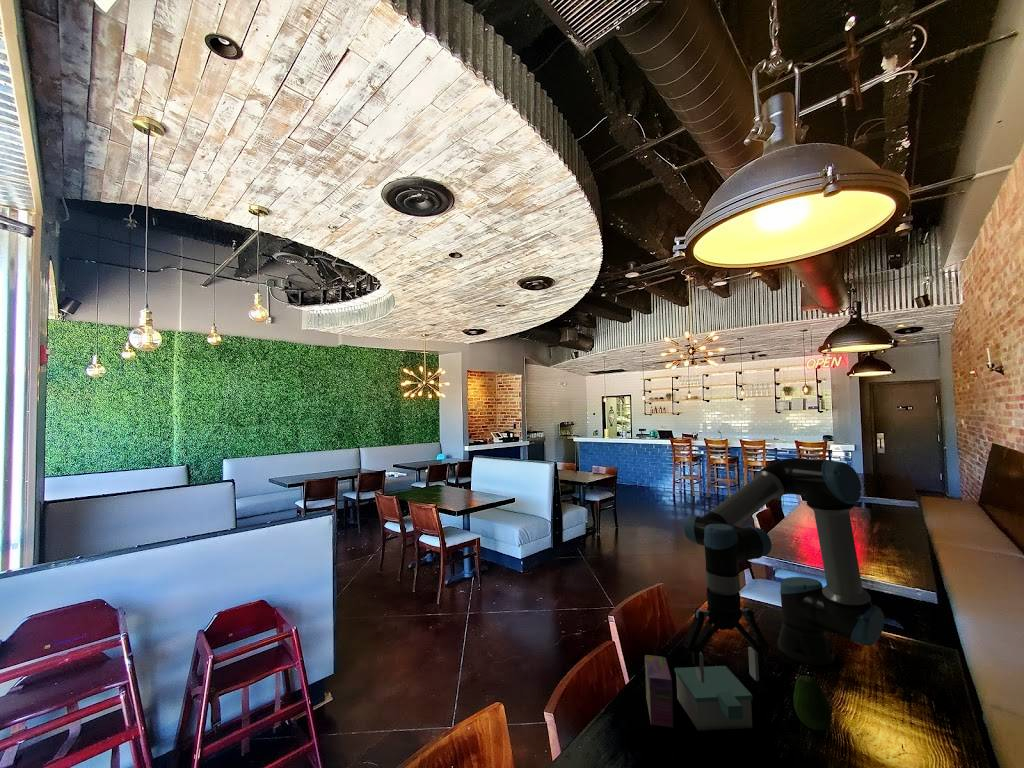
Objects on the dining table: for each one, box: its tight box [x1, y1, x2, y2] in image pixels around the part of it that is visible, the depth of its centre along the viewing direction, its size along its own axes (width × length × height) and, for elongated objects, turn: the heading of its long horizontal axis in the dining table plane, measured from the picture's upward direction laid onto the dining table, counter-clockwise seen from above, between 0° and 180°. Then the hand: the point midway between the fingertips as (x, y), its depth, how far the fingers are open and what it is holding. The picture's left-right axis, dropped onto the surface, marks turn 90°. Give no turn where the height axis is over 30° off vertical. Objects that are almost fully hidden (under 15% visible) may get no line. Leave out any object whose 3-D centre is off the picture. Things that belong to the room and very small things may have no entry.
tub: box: [675, 673, 753, 732], centre depth 112 cm, size 14×12×7 cm
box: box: [644, 654, 674, 728], centre depth 112 cm, size 10×6×12 cm, turn 168°
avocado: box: [792, 675, 832, 731], centre depth 106 cm, size 8×8×12 cm
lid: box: [674, 665, 754, 720], centre depth 110 cm, size 15×18×3 cm
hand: (727, 678), depth 104 cm, fingers open, 13 cm apart
